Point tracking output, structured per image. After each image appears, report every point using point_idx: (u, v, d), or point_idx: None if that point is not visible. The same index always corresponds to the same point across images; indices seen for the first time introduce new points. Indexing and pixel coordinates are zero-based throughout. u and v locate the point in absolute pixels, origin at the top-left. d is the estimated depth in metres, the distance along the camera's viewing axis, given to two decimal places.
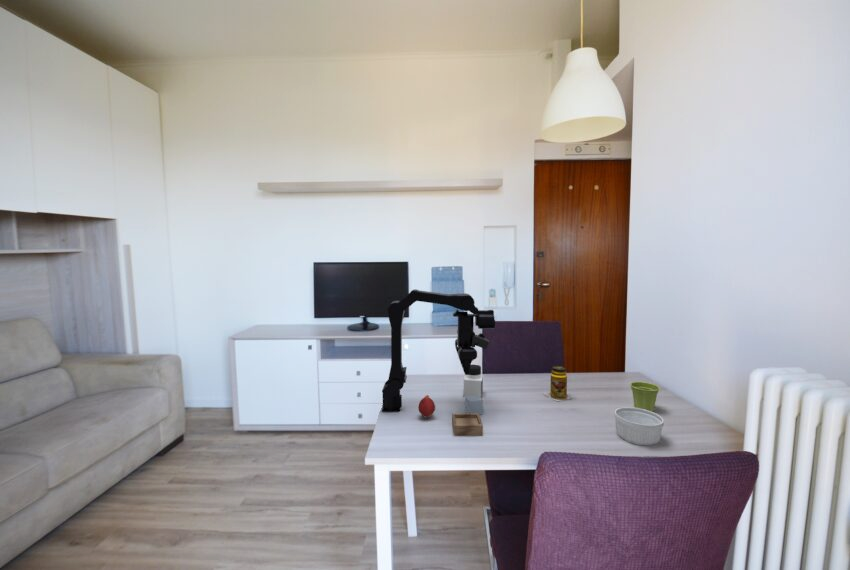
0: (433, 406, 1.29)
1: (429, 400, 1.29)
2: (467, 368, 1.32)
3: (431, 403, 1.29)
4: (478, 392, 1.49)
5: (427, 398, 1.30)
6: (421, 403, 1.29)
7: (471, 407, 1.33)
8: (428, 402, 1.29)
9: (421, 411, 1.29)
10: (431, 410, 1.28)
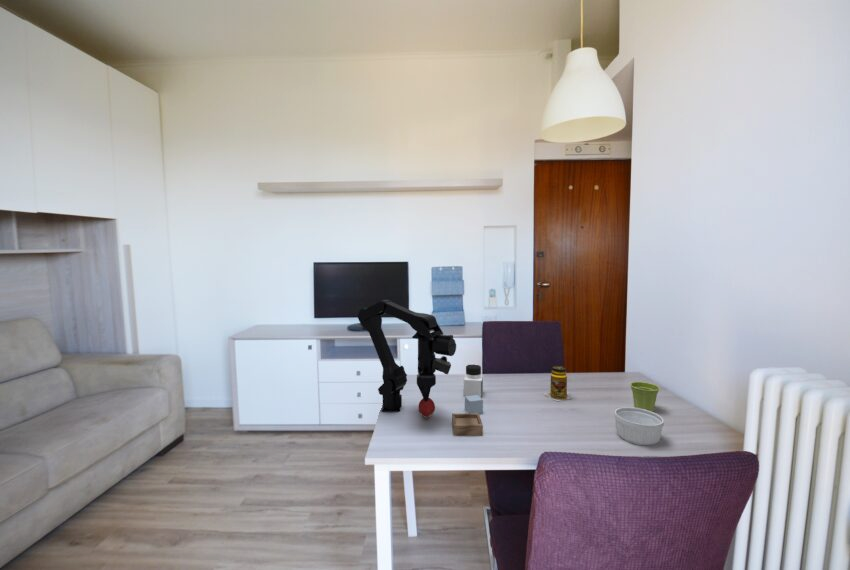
0: (433, 406, 1.29)
1: (429, 400, 1.29)
2: (426, 394, 1.25)
3: (431, 403, 1.29)
4: (478, 392, 1.49)
5: None
6: (421, 403, 1.29)
7: (471, 407, 1.33)
8: (428, 402, 1.29)
9: (421, 411, 1.29)
10: (431, 410, 1.28)
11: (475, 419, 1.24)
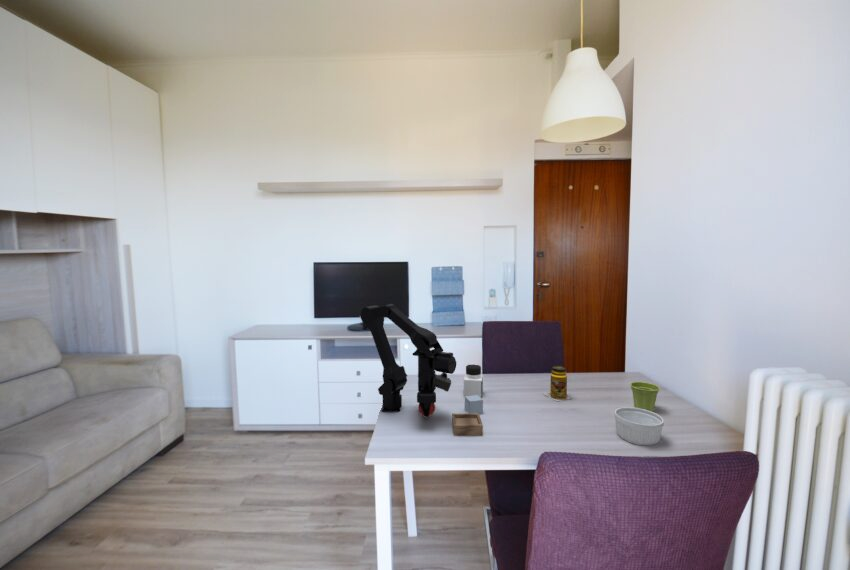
0: (433, 406, 1.29)
1: None
2: (427, 410, 1.27)
3: (431, 403, 1.29)
4: (478, 392, 1.49)
5: None
6: None
7: (471, 407, 1.33)
8: None
9: (421, 411, 1.29)
10: (431, 410, 1.28)
11: (475, 419, 1.24)
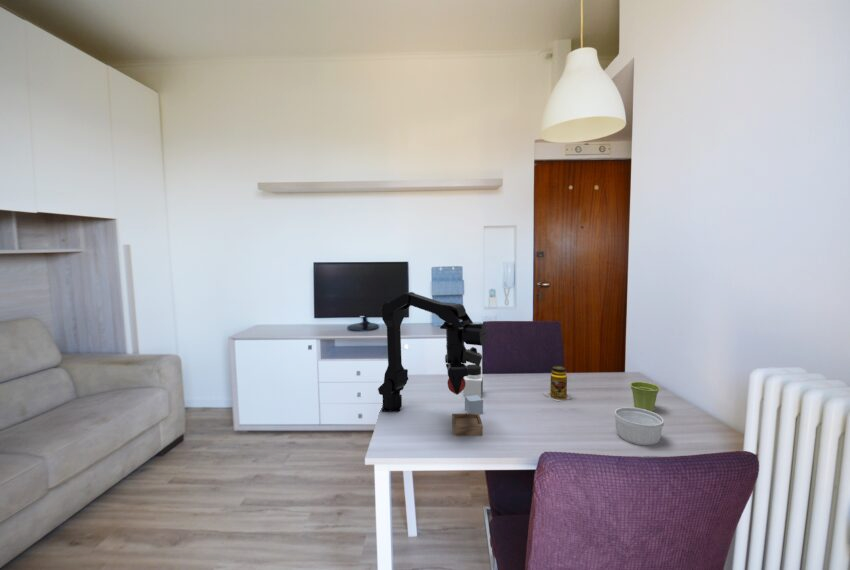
0: (463, 382, 1.22)
1: None
2: (458, 386, 1.19)
3: None
4: (478, 392, 1.49)
5: None
6: None
7: (471, 407, 1.33)
8: None
9: (451, 387, 1.21)
10: (462, 386, 1.21)
11: (475, 419, 1.24)
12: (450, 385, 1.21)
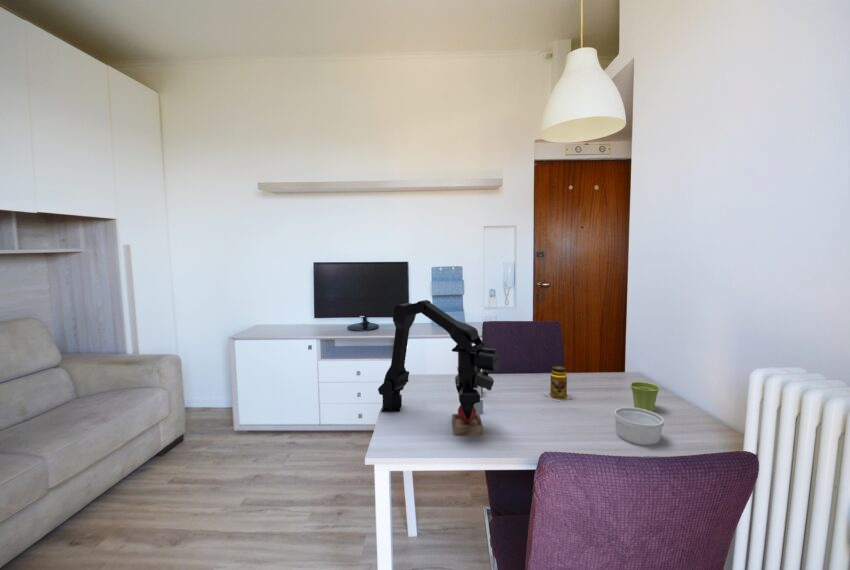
0: (474, 411, 1.20)
1: None
2: (469, 412, 1.16)
3: None
4: None
5: None
6: (461, 408, 1.20)
7: None
8: None
9: (461, 417, 1.19)
10: (472, 416, 1.19)
11: (475, 420, 1.24)
12: (461, 414, 1.19)
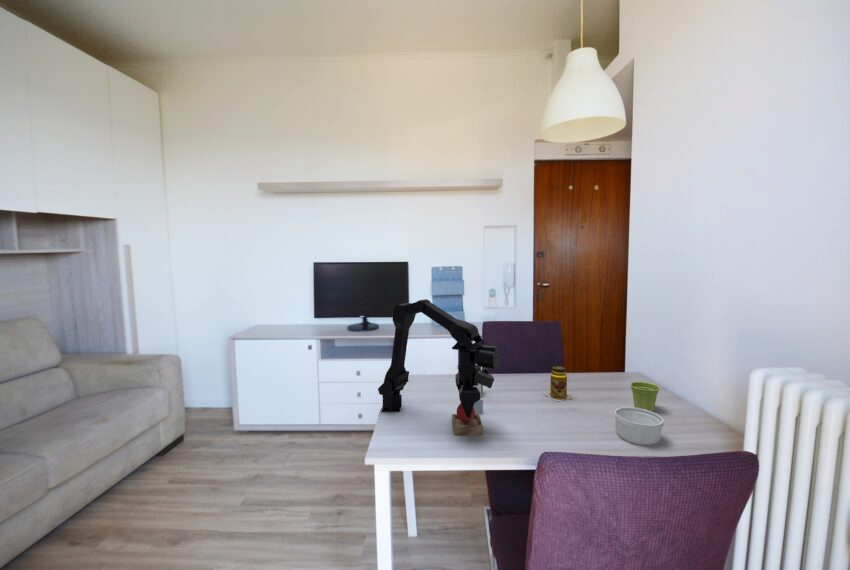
0: (473, 411, 1.20)
1: None
2: (469, 410, 1.16)
3: None
4: None
5: None
6: (459, 409, 1.20)
7: None
8: None
9: (460, 417, 1.19)
10: (471, 415, 1.19)
11: (475, 420, 1.24)
12: (459, 415, 1.19)
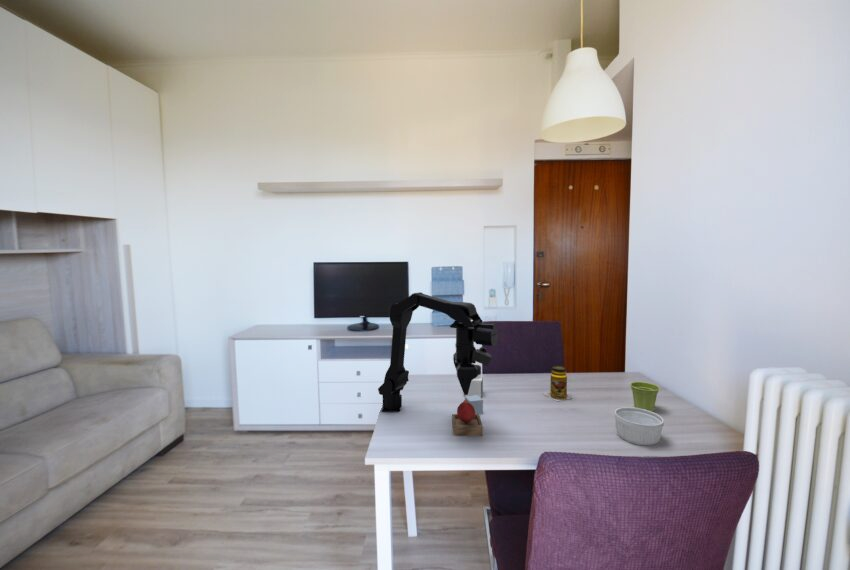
0: (473, 411, 1.20)
1: (468, 405, 1.20)
2: (466, 388, 1.16)
3: (471, 408, 1.19)
4: (478, 392, 1.49)
5: (466, 403, 1.20)
6: (460, 409, 1.20)
7: None
8: (467, 407, 1.19)
9: (460, 417, 1.19)
10: (471, 416, 1.19)
11: (475, 420, 1.24)
12: (459, 415, 1.20)
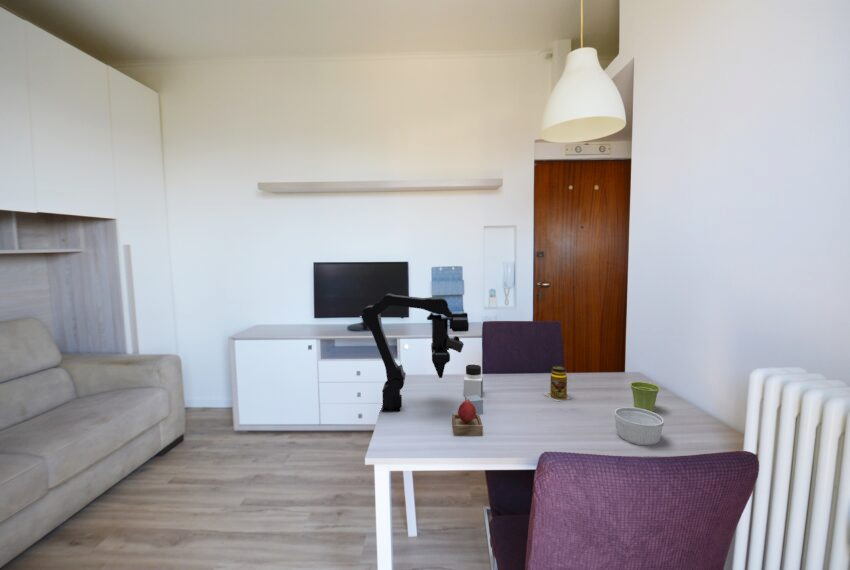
0: (473, 411, 1.20)
1: (469, 404, 1.20)
2: (441, 371, 1.32)
3: (471, 408, 1.20)
4: (478, 392, 1.49)
5: (467, 402, 1.21)
6: (460, 407, 1.21)
7: None
8: (468, 406, 1.20)
9: (460, 415, 1.20)
10: (471, 415, 1.19)
11: (475, 420, 1.24)
12: (459, 413, 1.20)
